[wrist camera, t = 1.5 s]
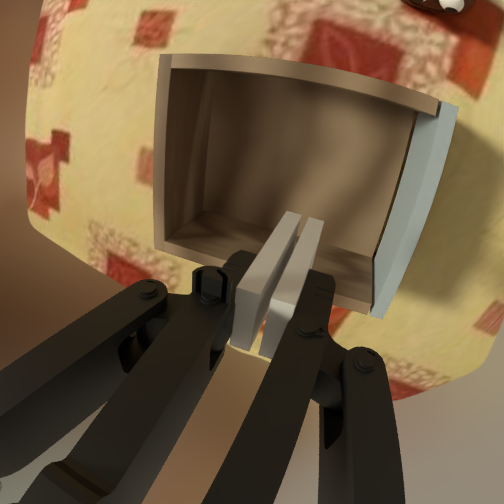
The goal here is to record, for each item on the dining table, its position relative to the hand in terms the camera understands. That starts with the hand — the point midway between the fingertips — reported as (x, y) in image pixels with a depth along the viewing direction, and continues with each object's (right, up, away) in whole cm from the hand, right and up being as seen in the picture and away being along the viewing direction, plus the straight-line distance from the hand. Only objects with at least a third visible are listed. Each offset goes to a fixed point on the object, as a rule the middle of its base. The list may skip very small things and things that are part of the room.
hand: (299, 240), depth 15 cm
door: (+13, +5, +11) cm, 17 cm away
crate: (+2, +9, +14) cm, 17 cm away
